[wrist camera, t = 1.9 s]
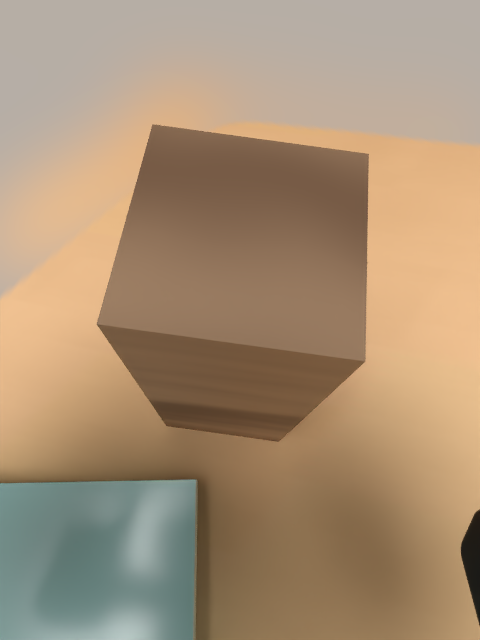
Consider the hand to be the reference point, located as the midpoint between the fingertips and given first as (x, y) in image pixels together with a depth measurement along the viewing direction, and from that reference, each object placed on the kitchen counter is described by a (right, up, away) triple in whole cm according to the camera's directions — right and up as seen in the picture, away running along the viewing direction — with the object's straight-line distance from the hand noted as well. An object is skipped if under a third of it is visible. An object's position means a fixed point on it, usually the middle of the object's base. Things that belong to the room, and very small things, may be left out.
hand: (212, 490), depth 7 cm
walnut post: (0, 0, +13) cm, 13 cm away
